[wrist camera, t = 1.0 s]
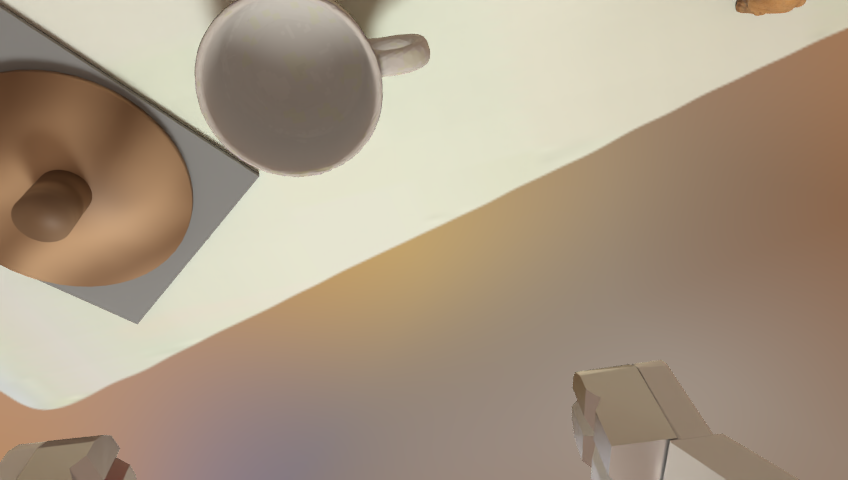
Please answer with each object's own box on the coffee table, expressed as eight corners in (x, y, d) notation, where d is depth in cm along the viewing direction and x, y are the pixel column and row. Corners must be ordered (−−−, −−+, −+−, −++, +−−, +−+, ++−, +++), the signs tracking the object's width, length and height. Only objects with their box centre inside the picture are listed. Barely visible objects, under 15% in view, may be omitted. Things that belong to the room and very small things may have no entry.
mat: (-140, 196, 38) (-144, 199, 37) (-28, -14, 33) (-32, -13, 32) (138, 321, 47) (137, 324, 47) (259, 174, 42) (258, 176, 42)
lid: (-115, 205, 38) (-164, 241, 34) (-8, 11, 33) (-51, 27, 29) (123, 312, 46) (105, 352, 42) (238, 169, 41) (230, 199, 37)
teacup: (232, 137, 40) (216, 185, 34) (196, -24, 34) (169, -4, 28) (416, 122, 42) (437, 165, 36) (413, -33, 36) (436, -16, 30)
